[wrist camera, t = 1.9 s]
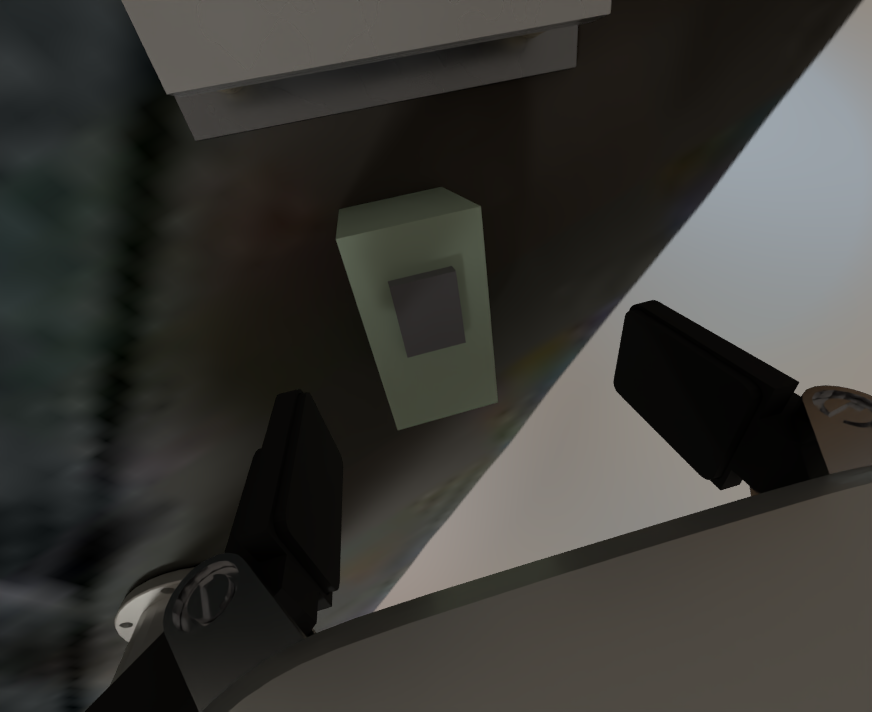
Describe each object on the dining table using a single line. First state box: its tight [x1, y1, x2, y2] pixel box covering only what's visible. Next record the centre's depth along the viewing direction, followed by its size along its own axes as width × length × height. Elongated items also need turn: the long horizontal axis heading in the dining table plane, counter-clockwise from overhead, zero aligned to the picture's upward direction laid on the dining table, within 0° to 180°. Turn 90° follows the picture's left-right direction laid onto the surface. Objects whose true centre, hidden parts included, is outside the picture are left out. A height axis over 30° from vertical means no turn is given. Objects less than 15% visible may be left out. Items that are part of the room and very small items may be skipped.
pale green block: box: [336, 187, 498, 430], centre depth 16 cm, size 9×5×7 cm, turn 10°
